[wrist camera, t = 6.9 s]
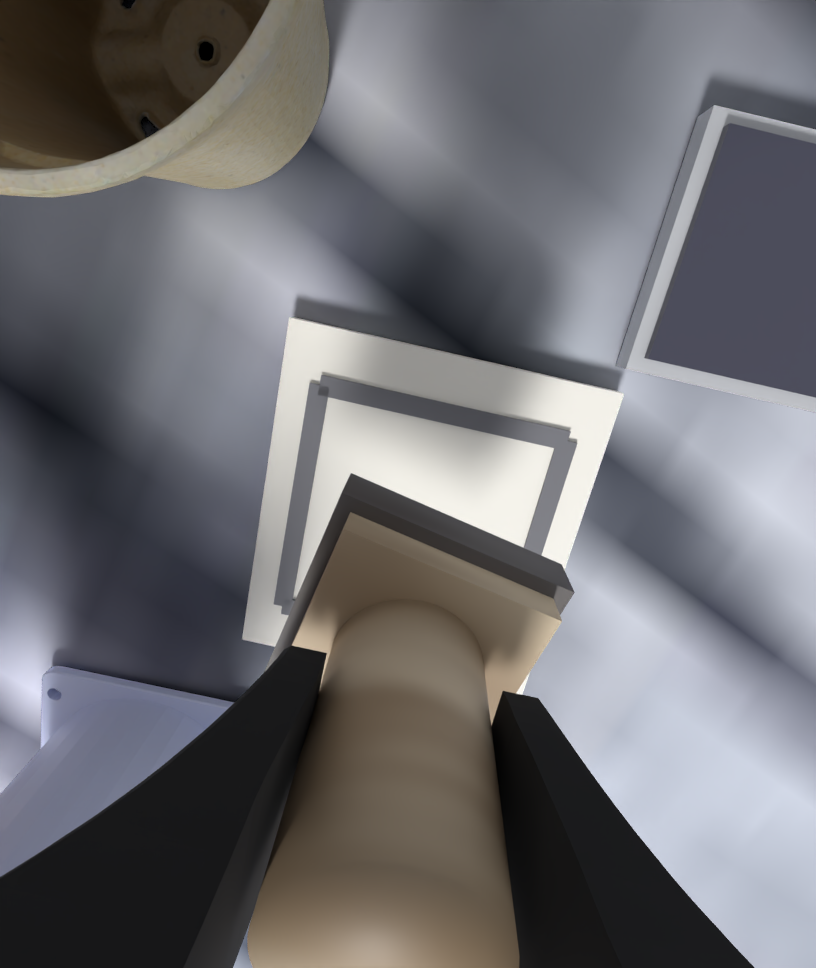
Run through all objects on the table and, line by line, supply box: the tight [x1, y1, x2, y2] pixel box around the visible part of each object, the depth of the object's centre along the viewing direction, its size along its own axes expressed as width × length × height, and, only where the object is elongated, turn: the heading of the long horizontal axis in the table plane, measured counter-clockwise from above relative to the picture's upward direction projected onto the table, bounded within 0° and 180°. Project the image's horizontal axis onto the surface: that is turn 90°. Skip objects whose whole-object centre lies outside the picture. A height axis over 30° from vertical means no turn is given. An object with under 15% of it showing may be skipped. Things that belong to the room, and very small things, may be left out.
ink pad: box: [616, 105, 816, 413], centre depth 15 cm, size 7×7×1 cm
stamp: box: [247, 473, 574, 968], centre depth 9 cm, size 5×5×7 cm
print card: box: [242, 317, 624, 695], centre depth 18 cm, size 11×10×1 cm
